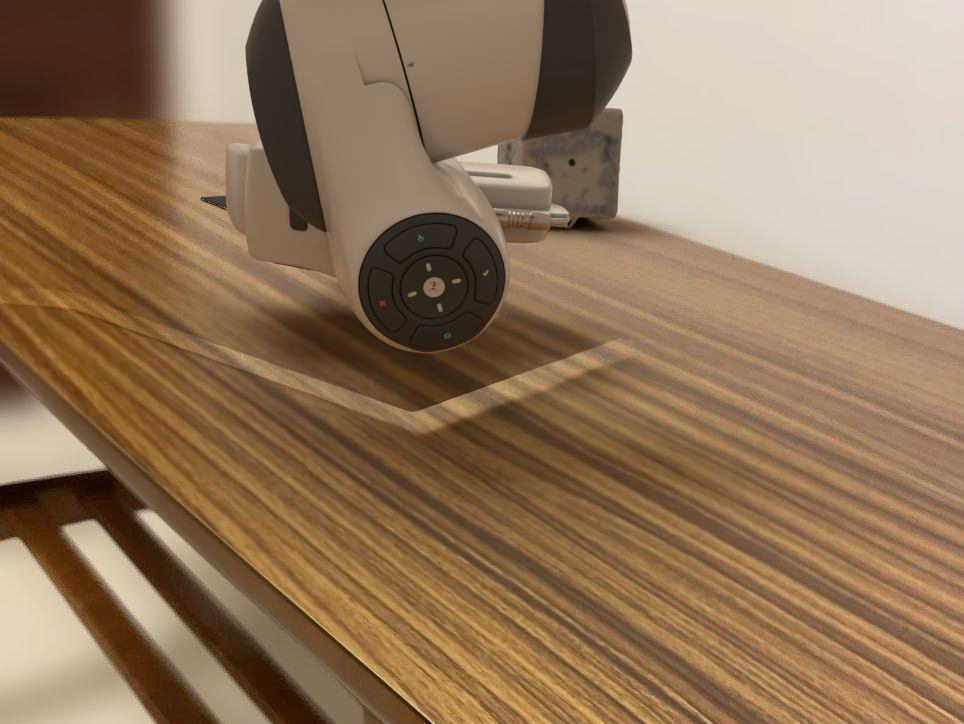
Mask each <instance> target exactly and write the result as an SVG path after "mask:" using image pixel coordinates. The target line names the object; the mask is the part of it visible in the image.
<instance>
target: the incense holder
mask: <svg viewBox="0 0 964 724" xmlns="http://www.w3.org/2000/svg"><path fill="white" fill-rule="evenodd" d="M623 125H624V113H623V110H622V109H621V108H615V107H605V108H604V110H603V111H602V112H601V114H600V115H599V116H598V117H597V118H596V120H595V121H594V122H593V123H592V124H591V125H590V126H589V127H588V128H587V129H584V130H578V131H573V132H567V133H562V134H557V135H551V136H546V137H540V138H535V139H530V140H524V141H522V140H521V139H516V140H513V141H509V142H506V143H502V144H499V145H497V153H496V156H497V157H496V158H497V162H496V164H504V165H517V166H528V167H534V168H538V169H541V170H544V171H545V172H546V173H547V174H548V176H549V177H550V179H551V182H552V198H551V203H553V204H556V205H560V206H562V207H564V208H565V209H566V210H567V211H568V212H569V217H570V221H569V222H568V225H567V226H566V227H563V228H564V229H571V228H572V227H573V226H575V223H576V222H577V221H578V219H580V218H583V219H594V220H595V219H596V220H597V219H598V220H613V219H616V217H617V214H618V211H619V210H618V209H619V188H620V187H619V186H620V172H621V151H622V140H623V127H624V126H623Z"/></svg>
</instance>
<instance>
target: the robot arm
mask: <svg viewBox="0 0 964 724" xmlns="http://www.w3.org/2000/svg"><path fill="white" fill-rule="evenodd" d="M244 50H245V51H244V53H245V54H244V55H245V66H246V73H247V74H246V75H247V76H246V77H247V84H248V90H249V96H250V102H251V106H252V111H253V115H254V119H255V123H256V127H257V131H258V135H259V138H260V139H259V140H260V141H255V142H253V143H244V142H242V143H241V142H238V143H237V142H235V143H229V144H228V145H226V147H225V168H224V169H225V173H224V174H225V175H224V177H225V196H226V207H227V210H226V212H227V215H228V217H229V220H230V222H231V224H232V226H233V227H234V228H235V230H237V231H238V232H239V233H240V234H242V235H244V236H246V244H247V250H248V255H249V256H250V257H251V258H252V259H255V260H258V261H261V262H266V263H273V264H275V265H279V266H280V265H281V266H287V267H293V268H297V269H302V270H306V271H311V272H318V273H321V274H324V275H326V276H330V277H332V278H335V279H336V280H337V283H338V285H339V288H340V290H341V292H342V294H343V296H344V298H345V301H346V302H347V304H348V306H349V307H350V309H351V311H352V312H353V313H354V314H355V316H356V317H357V319H358V320H359V321H360V323H362V325H363V326H364V327H365V328H366V329H367V330H368V331H369V332H370V333H371V334H372V335H374V336H375V337H376V338H378V339H379V340H380V341H382V342H384V343H385V344H386V345H389V346H391V347H393V348H396V349H399V350H402V351H406V352H410V353H416V354H417V353H418V354H434V353H435V354H437V353H443V352H447V351H451V350H453V349H456V348H460V347H461V346H464V345H465V344H468V343H470V342H471V341H472V340H474V339H475V338H478V337H479V336H480V335H481V334H482V333H483V332H484V331H486V329H487V328H489V326H490V325H491V324H492V323H493V322H494V320H495V319H496V318H497V317H498V315H499V313H500V311H501V309H502V308H503V306H504V303H505V301H506V298H507V295H508V290H509V288H510V287H509V286H510V280H511V264H510V255H509V249H508V244H509V243H510V244H511V243H512V244H535V243H540V242H543V241H544V240H546V239H547V236H548V233H549V232H548V231H549V230H550V229H551V227H556V228H564V227H566V226H567V225H568V222H569V221H570V217H569V212H568V211H567V210H566V209H565V208H564V207H562V206H560V205H556V204H553V203H551V198H552V182H551V179H550V177H549V176H548V174H547V173H546V172H545V171H544V170H541V169H538V168H534V167H528V166H517V165H504V164H497V163H490V162H479V161H478V162H476V161H465V160H458V158H457V157H461V156H463V155H464V156H465V155H467V154H471V153H475V152H478V151H481V150H485V149H488V148H491V147H495V146H498V145H499V144H502V143H506V142H509V141H513V140H516V139H521V140H522V141H524V140H530V139H535V138H540V137H546V136H551V135H557V134H562V133H567V132H573V131H578V130H584V129H587V128H588V127H589V126H590V125H591V124H592V123H593V122H594V121H595V120H596V118H597V117H598V116H599V115H600V114H601V112H602V111H603V110H604V108H607V106H608V104H609V103H610V101H611V100H612V99H613V97H614V96H615V94H616V92H617V91H618V89H619V88H620V86H621V84H622V82H623V81H624V79H625V76H626V75H627V72H628V71H629V68H630V66H631V63H632V60H633V43H632V31H631V21H630V14H629V9H628V5H627V1H626V0H261V1H260V4H259V5H258V7H257V10H256V12H255V14H254V17H253V20H252V23H251V26H250V28H249V32H248V35H247V39H246V43H245V47H244ZM507 243H508V244H507Z"/></svg>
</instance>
